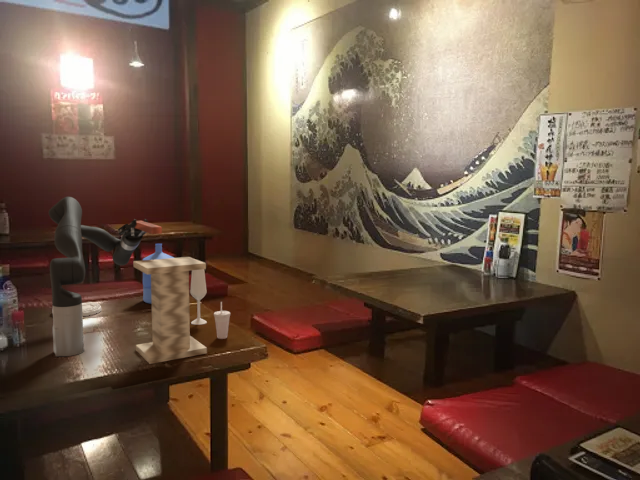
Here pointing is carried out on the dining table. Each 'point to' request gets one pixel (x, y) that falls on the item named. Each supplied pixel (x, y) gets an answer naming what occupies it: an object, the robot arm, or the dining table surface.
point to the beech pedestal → (170, 309)
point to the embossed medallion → (90, 308)
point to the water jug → (147, 277)
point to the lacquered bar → (148, 227)
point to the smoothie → (222, 323)
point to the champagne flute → (198, 292)
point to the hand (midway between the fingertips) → (140, 221)
